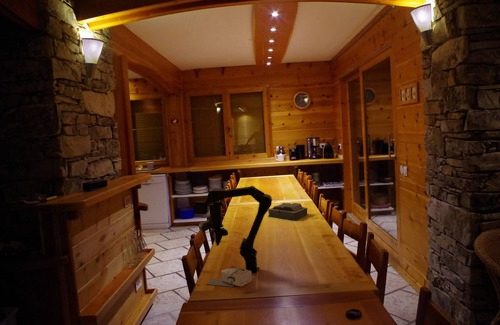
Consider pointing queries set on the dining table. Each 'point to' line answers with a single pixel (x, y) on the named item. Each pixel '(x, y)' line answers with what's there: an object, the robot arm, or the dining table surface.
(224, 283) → the slate mat
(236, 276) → the ink box
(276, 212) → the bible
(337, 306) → the dining table surface
